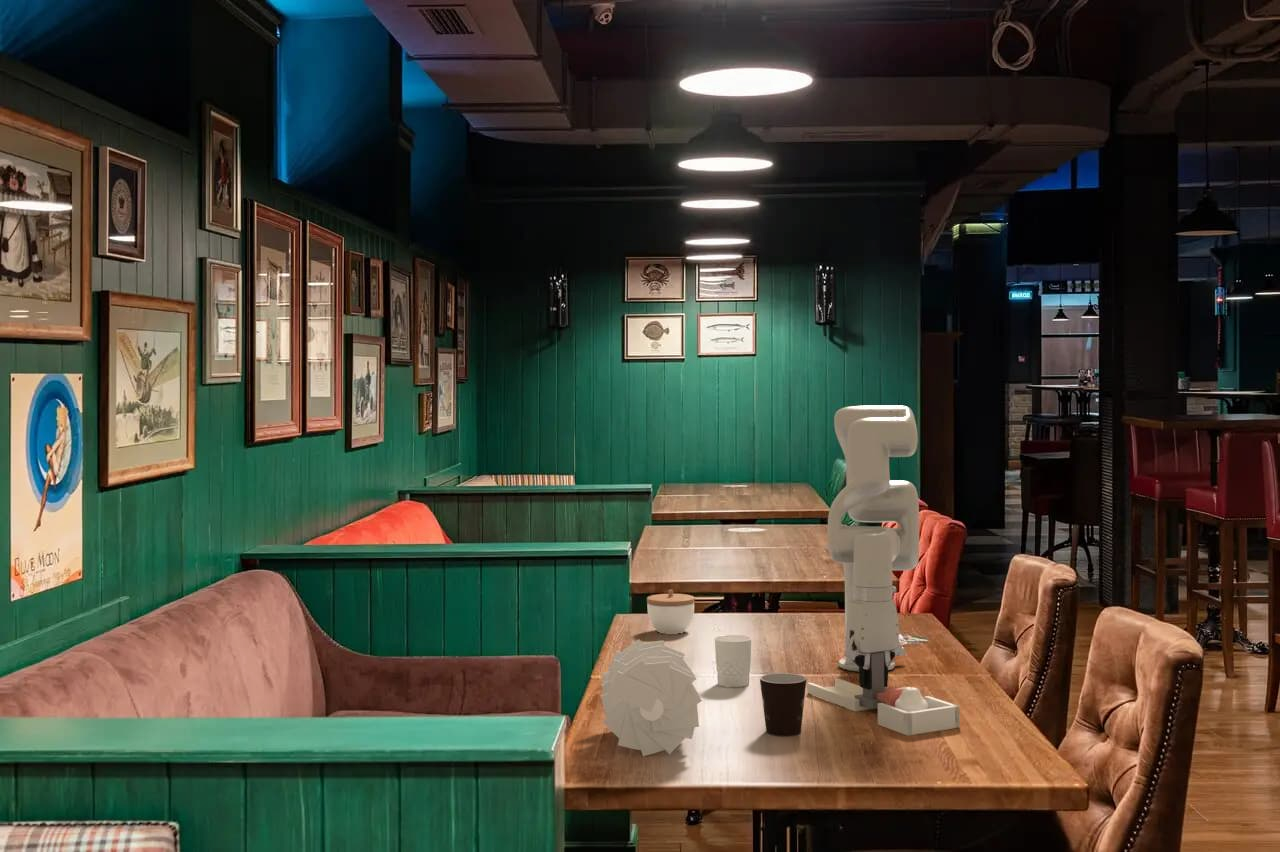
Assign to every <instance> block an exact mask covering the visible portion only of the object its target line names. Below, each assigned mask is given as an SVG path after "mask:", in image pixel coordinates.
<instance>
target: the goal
mask: <svg viewBox="0 0 1280 852" xmlns="http://www.w3.org/2000/svg"><path fill="white" fill-rule="evenodd" d="M923 699H924V700H926V702H927V704H928V708H927V709H925V710H919V711H912V712H907V711H904V710H901V709H898V708H895V707H893V706H890V705H887V704H884V703H878V708H877V725H878V726H881V727H883V728H887V729H889V730H891V731H893V732H897V733H899V734H903V735H905V736H914V735H919V734H920V735H921V734H927V733H933V732H939V731H945V730H951V729H957V728H960V705H957V704H954V703H952V702H948V701H945V700H941V699H939V698H936V697H932V696H930V695H928V696H924V697H923Z"/></svg>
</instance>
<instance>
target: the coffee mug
mask: <svg viewBox="0 0 1280 852" xmlns="http://www.w3.org/2000/svg"><path fill="white" fill-rule="evenodd" d="M807 680H808V679H807V677H806V676H804V675H801V674H797V673H789V672H787V673H786V672H774V673H768V674H763V675H760V676H759V682H760V691H761V699H762V706H763V714H764V722H765V723H764V724H765V732H766V733H767V734H769V735H771V736H776V737H794V736H797V735H799V734H801V733H802V725H803V724H802V723H803V714H804V707H805V695H806V689H807Z"/></svg>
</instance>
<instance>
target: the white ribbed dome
mask: <svg viewBox="0 0 1280 852" xmlns="http://www.w3.org/2000/svg"><path fill="white" fill-rule="evenodd" d="M906 687H907V688H904V689H903V690H902V694H901V695H900V697H899V698H898V699H897V700H896V702H895V707H896V708H898V709H901V710H904V711H907V712H912V711H919V710H925V709H927V708H928V704H927V702H926V700H924V697H923V695H922V693H921V690H920V689H919V688H917V687H913V686H906Z"/></svg>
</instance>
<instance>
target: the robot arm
mask: <svg viewBox="0 0 1280 852" xmlns="http://www.w3.org/2000/svg"><path fill="white" fill-rule="evenodd" d="M833 419H834V420H833V424H834V431H835V435H836V438H837V440H838V444H839V446H840V448H841V450H842V452H843V454H844V455H843V456H844V459H845V460H844V461H845V465H846V466H845V468H846V470H845V471H846V472H845V473H846V477H845V478H846V484H845V485H846V486H844V488H843V489H841V490H840V491H839V492H838V494H837V495H836V497H835V498H834V500H833V501H832V503H831V506H830V508H829V512H828V517H827V547H828V552H829V556H830V558H831V559H832V561H834V562H836V563H839V564H842V565H843V574H844V615H845V616H844V626H845V627H844V628H845V635H844V637H845V647H844V648H845V650H844V654H843V655H844V657H842V658H841V659H839V660H838V667H839V668H841V669H843V670H845V671H846V670H847V671H852V672H858V682H859V686H860V687H862V688H865V689H868V690H870V689H871V688H872V670H871V669H869V664H870V653H877V652H884V688H888V685H889V684H888V683H889V682H888V681H889V671H891V670H893V669H895V667H896V663H895V661H894V659H895V657H902V656H905V655H906V649H905V647H903V646H902V644H901V643H900V629H899V618H898V611H897V605H896V602H895V600H893V594H896V593H897V588H896V586H893V571H910V570H913V569H914V570H915V568H916V567H917V566H918V564H919V561H920V560H919V559H920V505H919V504H920V503H919V495H918V491H917V488H916V486H915V485H914V484H913V483H912V482H910V481H908V480H901V479H899V480H896V479H895V480H894V479H893V480H891V477H890V476H891V475H890V458H901V457H902V458H906V457H907V458H908V457H911V456H913V455H914V454H915V453H916V451H917V447H918V442H919V441H918V439H919V438H918V429H917V424H916V423H917V422H916V418H915V415H914V412H913V410H912V408H911V407H909V406H906V405H855V406H854V405H853V406H852V405H851V406H845V407H843V408H842V407H841V408H840V409H838V410H837V411H836V412H835V414H834V417H833ZM845 513H847V514H848V516H849V518H850V519H851V520H853V521H855V522H859V523H860V522H862V523H895V524H896V525H898V527H899V528H898V527H895V528H894V527H893V528H892V527H889V526H878V525H877V526H868V525H848V526H847V525H846V526H843V525H842V518H843V517H844V515H845ZM863 656H864V657H863Z"/></svg>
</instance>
